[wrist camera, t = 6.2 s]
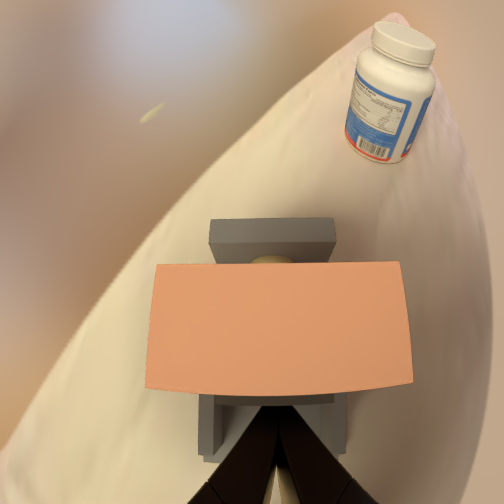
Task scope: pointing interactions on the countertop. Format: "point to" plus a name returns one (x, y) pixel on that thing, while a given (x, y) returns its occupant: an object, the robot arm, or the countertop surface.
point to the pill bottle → (390, 92)
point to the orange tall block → (278, 331)
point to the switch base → (264, 252)
